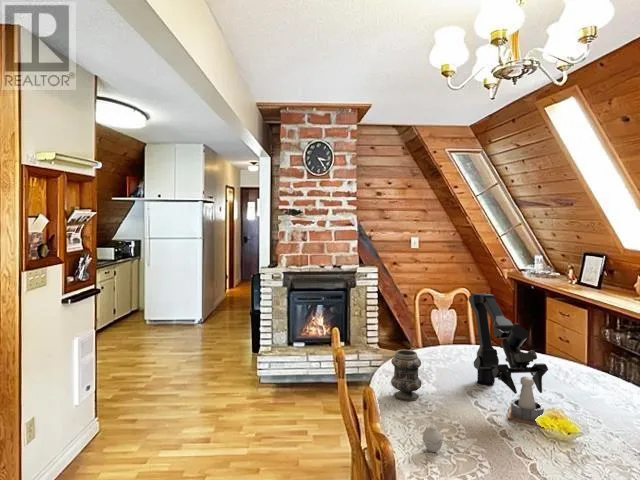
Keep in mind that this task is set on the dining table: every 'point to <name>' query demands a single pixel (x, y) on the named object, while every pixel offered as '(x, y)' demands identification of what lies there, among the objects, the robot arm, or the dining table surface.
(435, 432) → the grey cracked egg
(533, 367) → the robot arm
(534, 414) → the cup holder
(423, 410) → the dining table surface
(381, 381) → the dining table surface
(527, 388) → the salt shaker
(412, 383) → the apothecary jar
